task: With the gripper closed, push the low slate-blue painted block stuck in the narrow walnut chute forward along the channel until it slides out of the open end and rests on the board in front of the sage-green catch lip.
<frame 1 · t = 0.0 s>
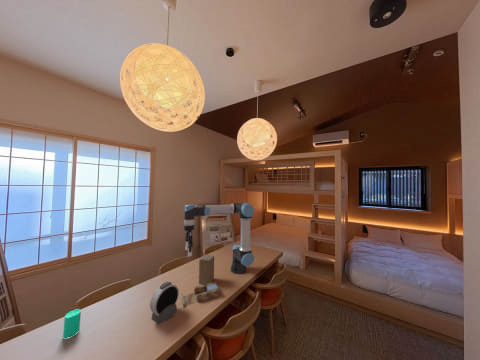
hand: (188, 253, 123), 28 cm above the table, fingers open, 13 cm apart
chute: (200, 296, 114), on the table
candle: (71, 334, 84), on the table
alarm clock: (164, 314, 98), on the table
block: (212, 292, 118), point 1 cm above the table, touching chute
wooden block: (206, 282, 133), on the table
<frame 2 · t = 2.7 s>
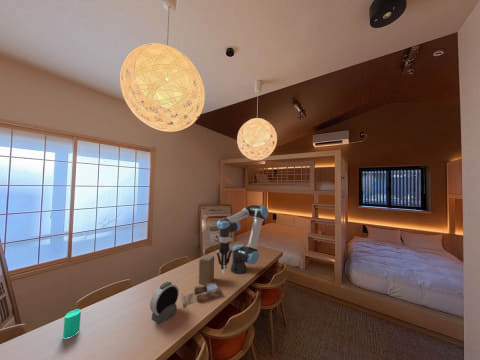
hand: (223, 273, 123), 13 cm above the table, fingers closed
nothing on the table moved.
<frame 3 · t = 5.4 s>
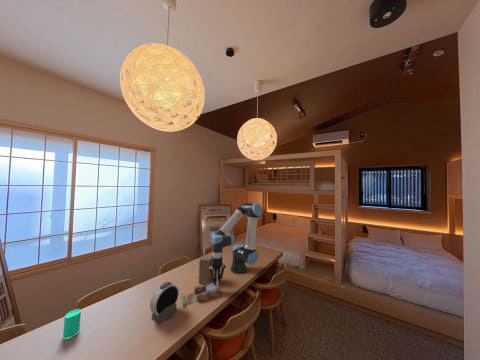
hand: (216, 289, 120), 2 cm above the table, fingers closed
block: (211, 293, 118), point 1 cm above the table, touching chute, gripper
everything else where it was.
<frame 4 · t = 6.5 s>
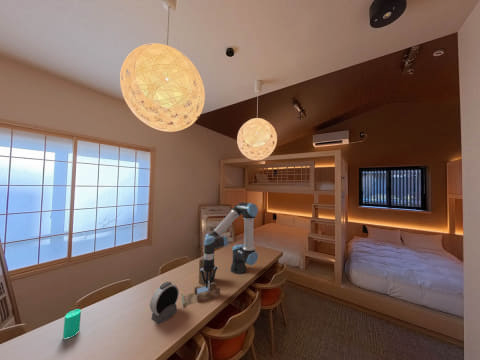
hand: (208, 291, 117), 2 cm above the table, fingers closed
block: (202, 295, 115), point 1 cm above the table, touching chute, gripper
everything else where it was.
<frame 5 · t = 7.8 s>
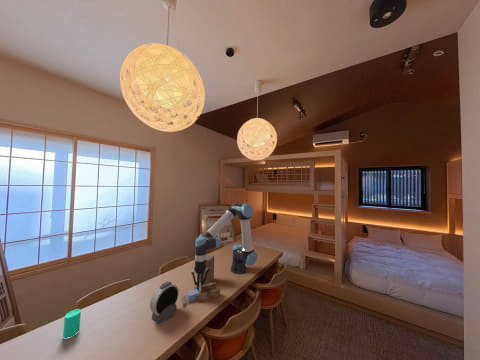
hand: (199, 294, 114), 2 cm above the table, fingers closed
block: (193, 297, 112), point 1 cm above the table, touching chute, gripper
everything else where it was.
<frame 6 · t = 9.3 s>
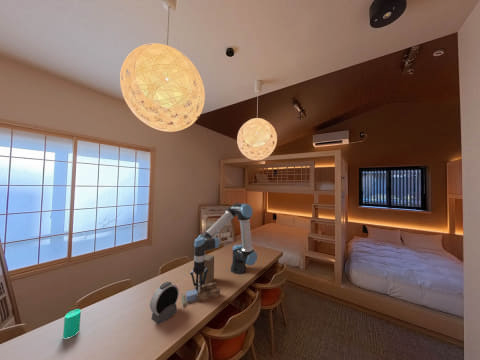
hand: (198, 294, 114), 2 cm above the table, fingers closed
block: (191, 298, 112), point 1 cm above the table, touching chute
everything else where it was.
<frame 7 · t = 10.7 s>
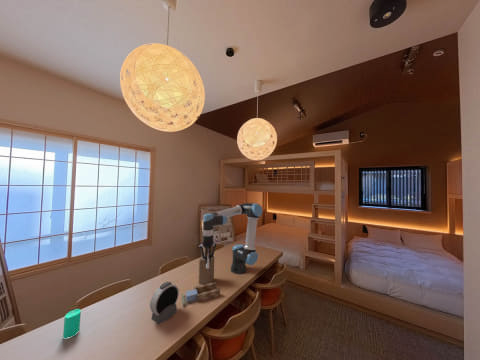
hand: (207, 267, 118), 19 cm above the table, fingers closed
nothing on the table moved.
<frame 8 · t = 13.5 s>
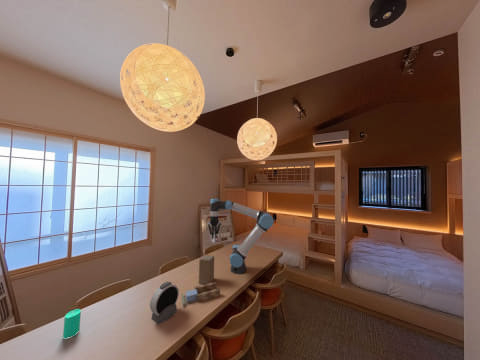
hand: (213, 242, 145), 29 cm above the table, fingers closed
nothing on the table moved.
at the end: block 2.3 cm from the target spot on the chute, point 0.6 cm above the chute's base; block tilted 0° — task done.
